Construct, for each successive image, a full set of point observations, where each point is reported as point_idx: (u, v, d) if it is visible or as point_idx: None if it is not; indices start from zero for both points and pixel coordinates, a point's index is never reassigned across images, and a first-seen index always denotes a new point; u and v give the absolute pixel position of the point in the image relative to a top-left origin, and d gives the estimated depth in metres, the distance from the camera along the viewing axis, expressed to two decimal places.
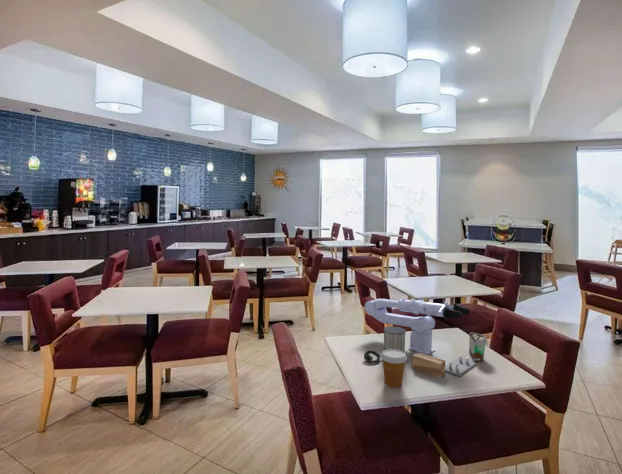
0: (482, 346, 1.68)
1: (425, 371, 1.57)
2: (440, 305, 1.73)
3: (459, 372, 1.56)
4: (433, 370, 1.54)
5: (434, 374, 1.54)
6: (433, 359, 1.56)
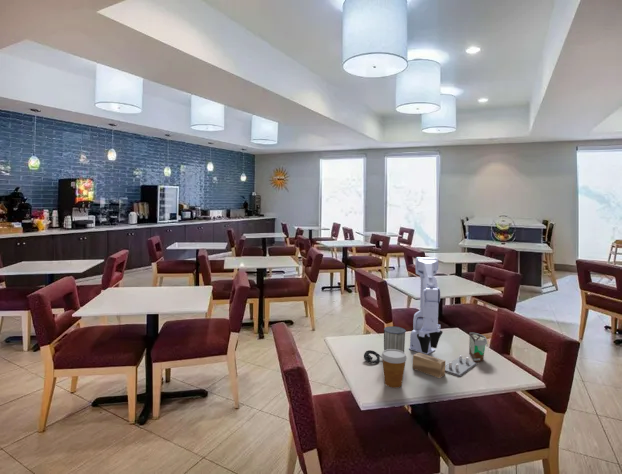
0: (482, 346, 1.68)
1: (425, 371, 1.57)
2: (434, 326, 1.54)
3: (459, 372, 1.56)
4: (433, 370, 1.54)
5: (434, 374, 1.54)
6: (433, 359, 1.56)
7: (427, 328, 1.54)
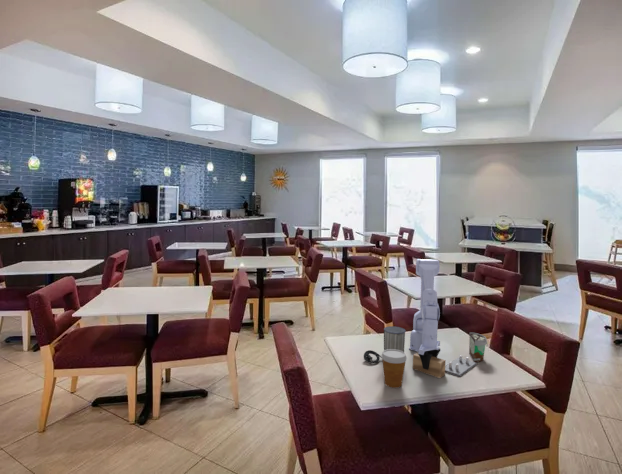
0: (482, 346, 1.68)
1: (425, 371, 1.57)
2: (433, 343, 1.54)
3: (459, 372, 1.56)
4: (433, 370, 1.54)
5: (434, 374, 1.54)
6: (433, 359, 1.56)
7: (426, 345, 1.55)
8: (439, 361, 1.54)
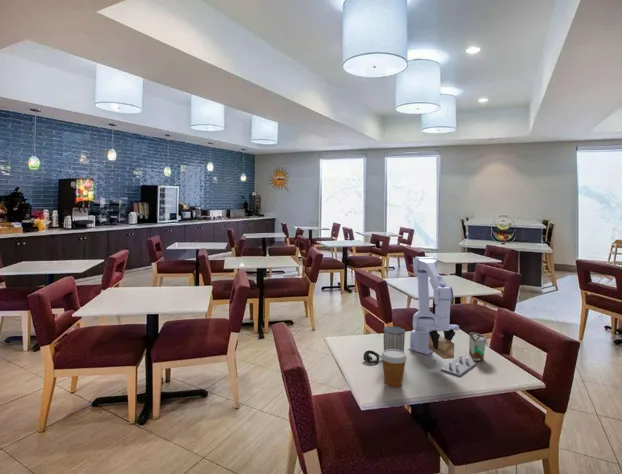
0: (482, 346, 1.68)
1: (435, 351, 1.59)
2: (442, 324, 1.55)
3: (459, 372, 1.56)
4: (440, 350, 1.55)
5: (440, 354, 1.55)
6: (443, 340, 1.57)
7: (436, 325, 1.57)
8: (446, 343, 1.54)
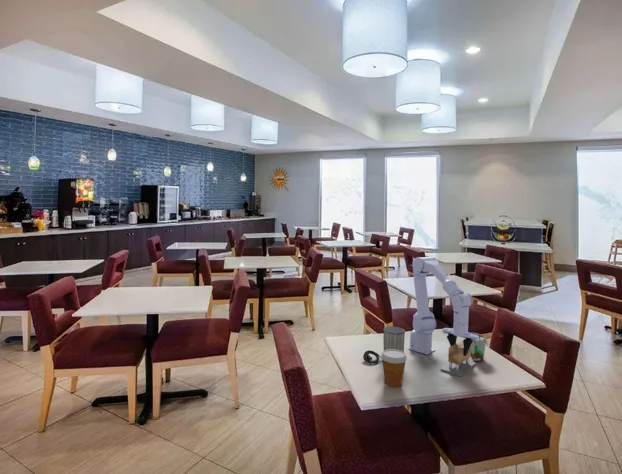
0: (482, 346, 1.68)
1: None
2: (454, 329, 1.60)
3: (459, 372, 1.56)
4: None
5: None
6: (457, 346, 1.61)
7: None
8: (453, 347, 1.59)
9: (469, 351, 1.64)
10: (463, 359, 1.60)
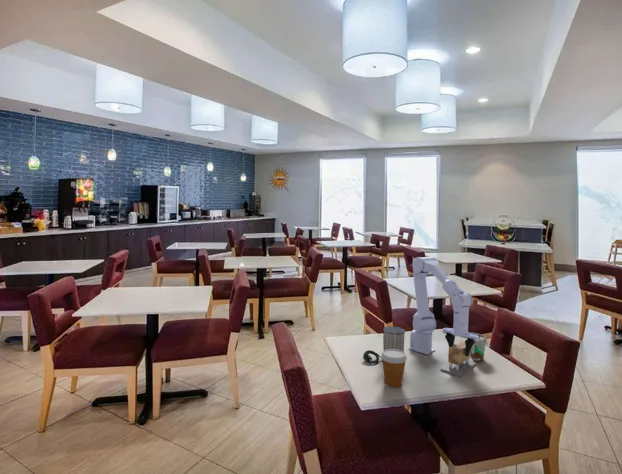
0: (482, 346, 1.68)
1: None
2: (454, 329, 1.60)
3: (459, 372, 1.56)
4: None
5: None
6: (457, 346, 1.61)
7: None
8: (453, 348, 1.59)
9: None
10: (463, 359, 1.60)
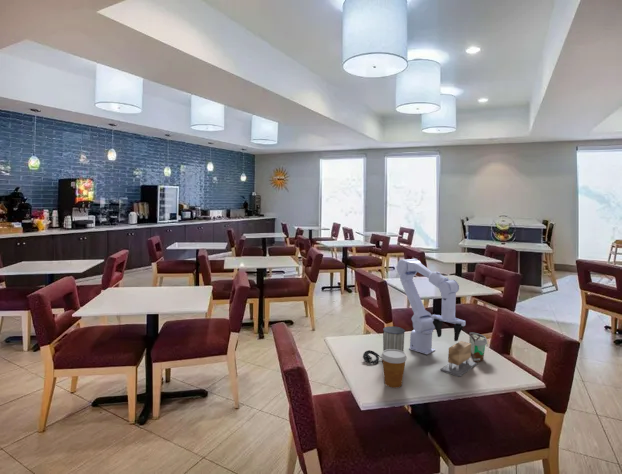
0: (482, 346, 1.68)
1: None
2: (442, 314, 1.68)
3: (459, 372, 1.56)
4: None
5: None
6: (457, 346, 1.61)
7: None
8: (453, 348, 1.59)
9: (469, 351, 1.64)
10: (463, 359, 1.60)
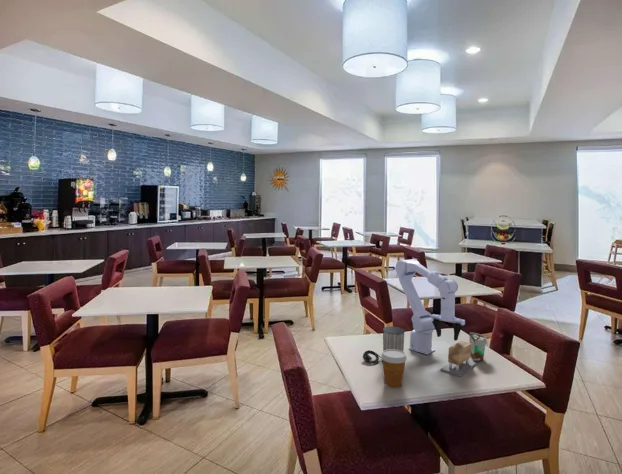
0: (482, 346, 1.68)
1: None
2: (442, 314, 1.68)
3: (459, 372, 1.56)
4: None
5: None
6: (457, 346, 1.61)
7: None
8: (453, 348, 1.59)
9: (469, 351, 1.64)
10: (463, 359, 1.60)
